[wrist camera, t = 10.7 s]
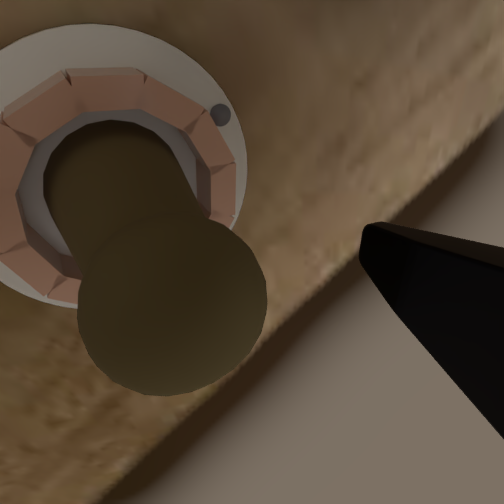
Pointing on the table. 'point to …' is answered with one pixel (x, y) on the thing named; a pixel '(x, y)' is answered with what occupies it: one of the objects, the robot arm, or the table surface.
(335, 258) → the table surface
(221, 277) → the brown peg
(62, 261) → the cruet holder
